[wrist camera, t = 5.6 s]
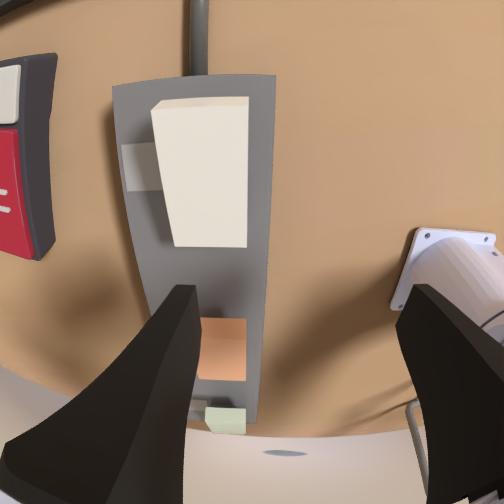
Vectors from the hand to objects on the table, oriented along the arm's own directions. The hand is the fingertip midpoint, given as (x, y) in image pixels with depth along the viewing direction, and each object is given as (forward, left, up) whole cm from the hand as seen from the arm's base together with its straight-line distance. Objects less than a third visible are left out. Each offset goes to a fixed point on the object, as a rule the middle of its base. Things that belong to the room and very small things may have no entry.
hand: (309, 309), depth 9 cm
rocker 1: (+4, -2, -6) cm, 7 cm away
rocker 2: (+4, +22, -6) cm, 23 cm away
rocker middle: (+4, +10, -6) cm, 12 cm away
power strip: (+5, +5, -10) cm, 12 cm away
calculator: (+21, -4, -11) cm, 25 cm away
